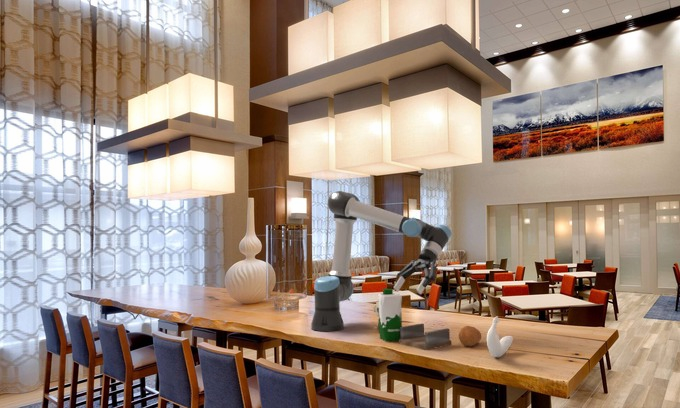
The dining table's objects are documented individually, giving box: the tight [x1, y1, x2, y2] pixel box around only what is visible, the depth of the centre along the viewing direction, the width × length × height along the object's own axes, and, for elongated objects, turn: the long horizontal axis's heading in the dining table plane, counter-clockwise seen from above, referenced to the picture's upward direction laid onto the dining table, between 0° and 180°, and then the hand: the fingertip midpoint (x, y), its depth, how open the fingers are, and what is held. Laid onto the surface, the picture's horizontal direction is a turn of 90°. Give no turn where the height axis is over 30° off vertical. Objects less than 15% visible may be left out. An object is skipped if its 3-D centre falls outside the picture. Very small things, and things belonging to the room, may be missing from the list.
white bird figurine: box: [486, 315, 514, 358], centre depth 148 cm, size 5×19×15 cm, turn 146°
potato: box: [458, 325, 483, 347], centre depth 165 cm, size 7×13×7 cm, turn 142°
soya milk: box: [377, 288, 403, 342], centre depth 177 cm, size 9×9×20 cm
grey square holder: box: [398, 323, 452, 351], centre depth 168 cm, size 14×14×6 cm
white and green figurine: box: [372, 300, 379, 332], centre depth 193 cm, size 11×7×13 cm, turn 58°
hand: (406, 290), depth 183 cm, fingers open, 13 cm apart
